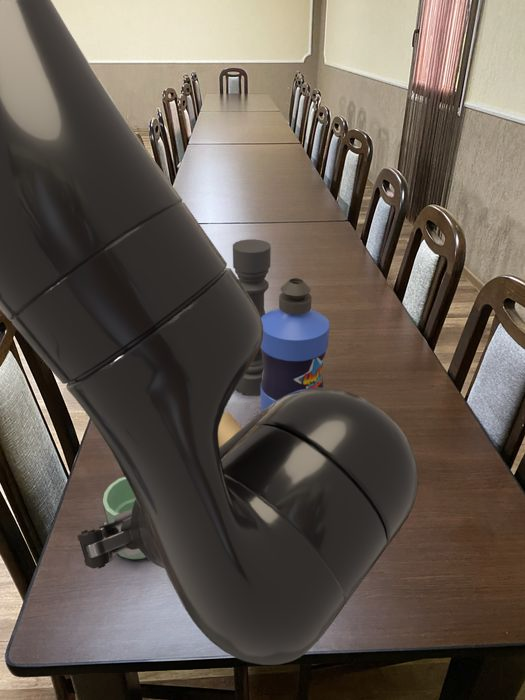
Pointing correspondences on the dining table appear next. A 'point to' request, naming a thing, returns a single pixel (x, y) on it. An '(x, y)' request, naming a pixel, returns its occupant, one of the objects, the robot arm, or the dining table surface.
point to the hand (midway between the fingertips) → (156, 517)
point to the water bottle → (292, 344)
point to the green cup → (119, 505)
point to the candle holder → (253, 297)
